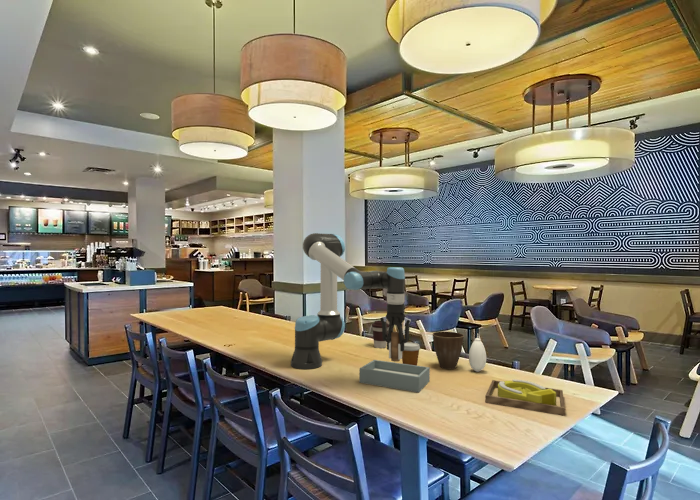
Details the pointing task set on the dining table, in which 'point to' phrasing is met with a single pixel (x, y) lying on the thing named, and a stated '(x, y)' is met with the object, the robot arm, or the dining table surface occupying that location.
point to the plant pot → (448, 348)
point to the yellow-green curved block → (526, 392)
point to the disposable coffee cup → (410, 353)
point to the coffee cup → (378, 334)
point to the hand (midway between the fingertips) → (395, 358)
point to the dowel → (394, 346)
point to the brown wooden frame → (525, 404)
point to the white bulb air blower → (477, 355)
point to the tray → (395, 375)
